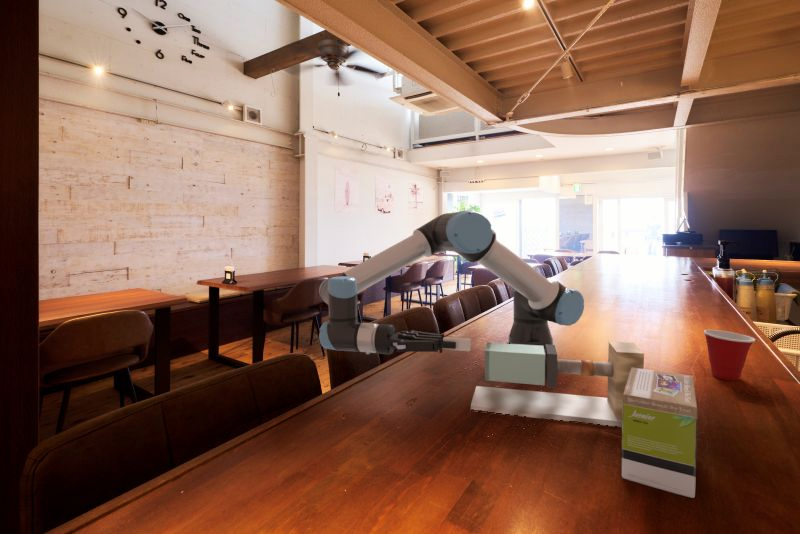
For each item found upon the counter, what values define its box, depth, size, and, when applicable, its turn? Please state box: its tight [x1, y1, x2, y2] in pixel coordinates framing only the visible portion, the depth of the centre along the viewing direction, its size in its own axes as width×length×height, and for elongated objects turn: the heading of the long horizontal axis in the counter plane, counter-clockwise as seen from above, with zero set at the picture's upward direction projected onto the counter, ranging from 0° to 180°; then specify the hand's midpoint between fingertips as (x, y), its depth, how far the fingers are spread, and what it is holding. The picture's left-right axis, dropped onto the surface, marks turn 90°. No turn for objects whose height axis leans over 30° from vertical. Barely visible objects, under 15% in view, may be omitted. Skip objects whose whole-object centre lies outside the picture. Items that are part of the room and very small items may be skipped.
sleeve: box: [484, 342, 546, 386], centre depth 93 cm, size 13×7×7 cm, turn 73°
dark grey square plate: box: [544, 344, 558, 389], centre depth 90 cm, size 2×8×8 cm, turn 163°
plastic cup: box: [703, 329, 756, 381], centre depth 107 cm, size 11×11×12 cm
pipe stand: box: [470, 341, 645, 428], centre depth 90 cm, size 36×12×15 cm, turn 73°
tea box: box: [621, 367, 698, 499], centre depth 68 cm, size 15×10×15 cm
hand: (470, 344), depth 95 cm, fingers closed
